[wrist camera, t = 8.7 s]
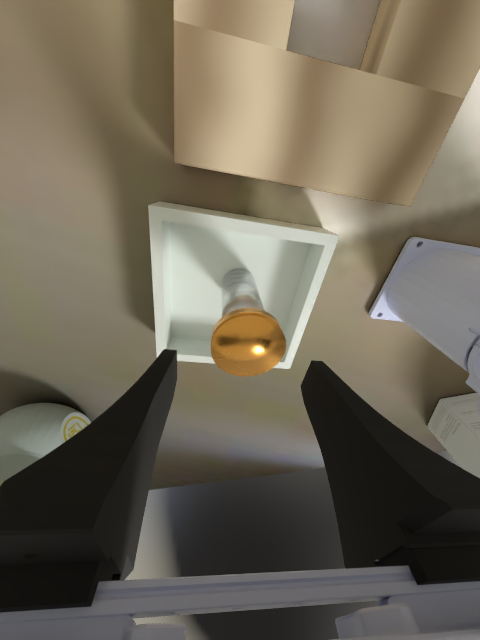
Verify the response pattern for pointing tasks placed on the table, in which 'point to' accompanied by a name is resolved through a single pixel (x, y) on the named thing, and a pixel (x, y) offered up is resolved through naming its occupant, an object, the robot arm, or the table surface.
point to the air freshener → (35, 434)
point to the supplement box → (459, 429)
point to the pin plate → (321, 95)
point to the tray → (219, 258)
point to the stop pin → (245, 329)
